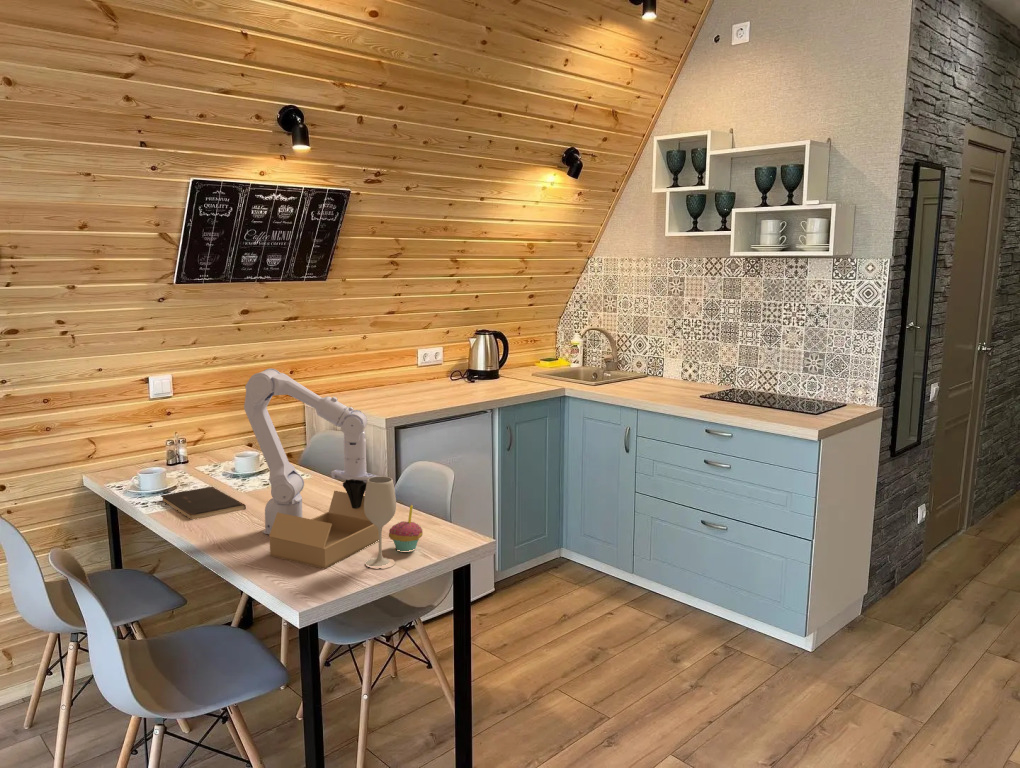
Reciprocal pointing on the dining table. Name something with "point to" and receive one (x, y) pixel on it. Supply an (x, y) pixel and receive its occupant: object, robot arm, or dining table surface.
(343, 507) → the flap
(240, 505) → the hardcover book
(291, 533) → the flap
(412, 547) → the cupcake
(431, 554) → the dining table surface
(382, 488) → the wineglass
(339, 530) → the carton
